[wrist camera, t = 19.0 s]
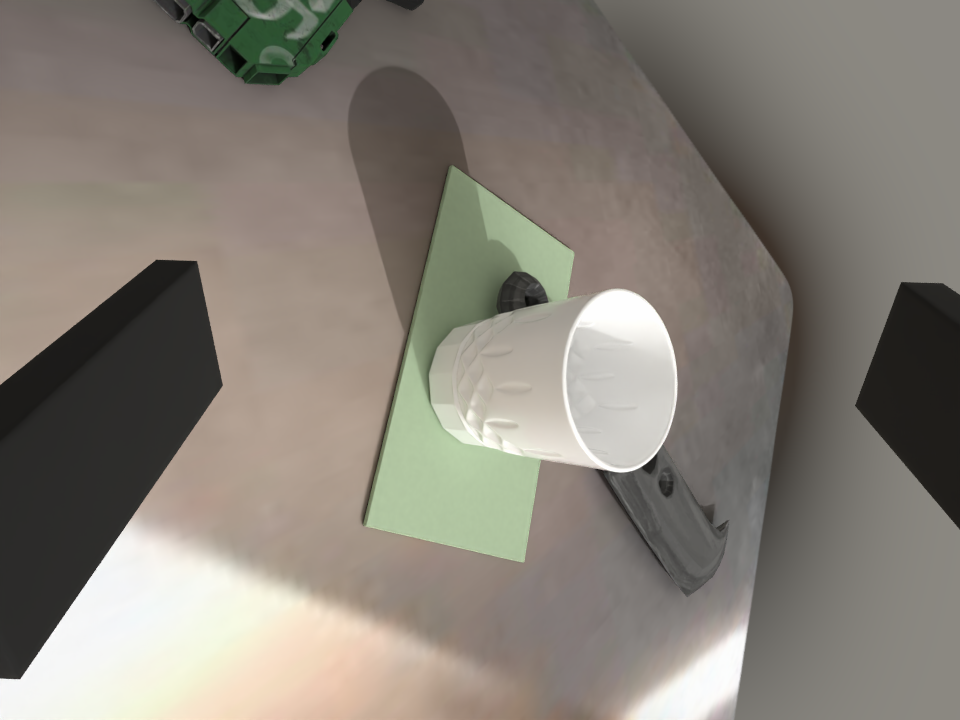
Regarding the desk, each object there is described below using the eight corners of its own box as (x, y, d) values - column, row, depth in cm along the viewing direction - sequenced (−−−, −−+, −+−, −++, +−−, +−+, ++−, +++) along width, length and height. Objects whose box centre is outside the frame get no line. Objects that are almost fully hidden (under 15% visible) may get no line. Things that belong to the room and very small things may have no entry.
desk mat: (449, 166, 37) (452, 164, 36) (571, 253, 43) (574, 252, 43) (362, 525, 30) (366, 526, 30) (520, 562, 37) (524, 562, 37)
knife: (570, 212, 40) (747, 527, 52) (541, 221, 41) (720, 524, 53) (502, 299, 35) (716, 625, 47) (473, 306, 36) (687, 619, 48)
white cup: (439, 479, 34) (588, 503, 26) (400, 332, 33) (544, 312, 25) (541, 426, 39) (691, 433, 31) (510, 297, 37) (658, 271, 30)
